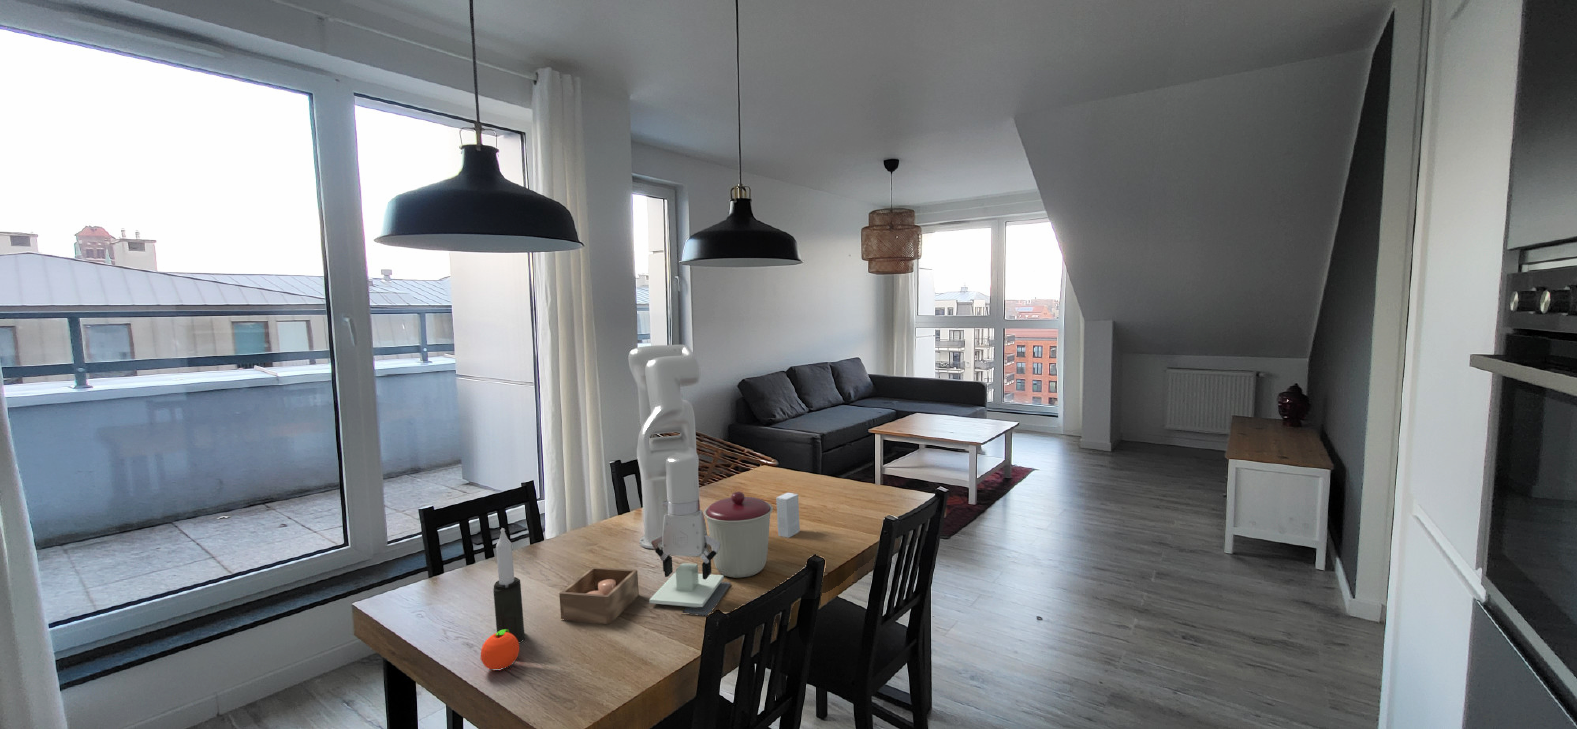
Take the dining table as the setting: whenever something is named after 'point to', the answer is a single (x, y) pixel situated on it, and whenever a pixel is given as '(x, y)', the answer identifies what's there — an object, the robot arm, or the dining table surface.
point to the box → (598, 596)
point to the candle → (508, 592)
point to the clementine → (500, 650)
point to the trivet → (710, 601)
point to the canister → (739, 534)
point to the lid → (687, 587)
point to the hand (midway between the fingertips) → (687, 575)
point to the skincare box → (788, 514)
